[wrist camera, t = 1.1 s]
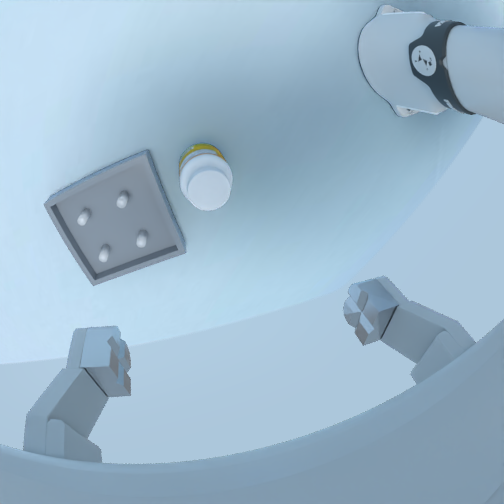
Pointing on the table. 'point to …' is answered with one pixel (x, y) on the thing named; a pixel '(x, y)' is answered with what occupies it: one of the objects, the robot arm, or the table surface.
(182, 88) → the table surface
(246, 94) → the table surface
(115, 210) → the pin tray
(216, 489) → the robot arm
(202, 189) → the supplement bottle
